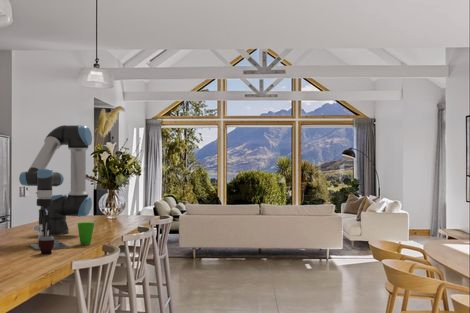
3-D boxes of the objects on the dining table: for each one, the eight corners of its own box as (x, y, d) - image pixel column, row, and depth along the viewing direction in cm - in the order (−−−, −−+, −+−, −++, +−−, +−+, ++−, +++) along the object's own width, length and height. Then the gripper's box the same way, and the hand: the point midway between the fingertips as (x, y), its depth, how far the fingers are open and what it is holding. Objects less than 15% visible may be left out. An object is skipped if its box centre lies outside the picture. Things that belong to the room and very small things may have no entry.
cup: (97, 243, 286) (98, 222, 286) (87, 245, 277) (88, 224, 277) (83, 242, 289) (83, 221, 289) (72, 244, 280) (73, 223, 280)
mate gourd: (47, 251, 256) (47, 220, 256) (58, 253, 252) (59, 221, 252) (34, 254, 249) (34, 221, 250) (45, 255, 245) (46, 222, 246)
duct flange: (61, 244, 281) (61, 237, 281) (69, 248, 268) (69, 241, 268) (29, 246, 273) (29, 239, 273) (35, 250, 259) (36, 243, 259)
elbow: (47, 242, 285) (47, 223, 285) (49, 244, 280) (49, 224, 281) (32, 243, 281) (32, 224, 281) (34, 245, 276) (34, 225, 277)
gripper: (33, 197, 287) (32, 241, 287) (40, 199, 272) (39, 245, 272) (47, 197, 291) (46, 240, 291) (56, 199, 276) (54, 244, 275)
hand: (43, 243), depth 281 cm, fingers closed on elbow, 5 cm apart
